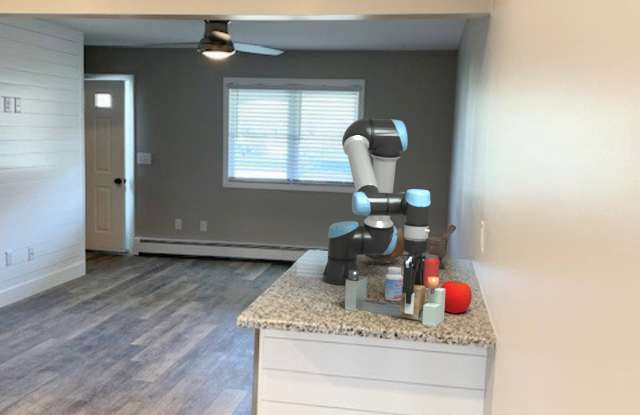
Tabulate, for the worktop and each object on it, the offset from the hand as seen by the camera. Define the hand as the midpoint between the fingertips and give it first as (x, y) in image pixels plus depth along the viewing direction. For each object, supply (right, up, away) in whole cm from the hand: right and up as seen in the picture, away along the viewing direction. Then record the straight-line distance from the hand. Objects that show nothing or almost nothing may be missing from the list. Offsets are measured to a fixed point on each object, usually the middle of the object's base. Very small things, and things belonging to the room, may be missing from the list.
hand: (412, 310), depth 191 cm
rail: (-7, -2, +4) cm, 9 cm away
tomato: (+15, -2, +9) cm, 18 cm away
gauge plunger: (+5, +6, -6) cm, 10 cm away
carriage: (0, -2, 0) cm, 2 cm away
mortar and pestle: (+25, +6, +80) cm, 84 cm away
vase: (-1, +7, +83) cm, 83 cm away
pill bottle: (-3, 0, +23) cm, 23 cm away
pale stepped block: (+6, -3, -3) cm, 7 cm away
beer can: (+13, +2, +44) cm, 46 cm away
